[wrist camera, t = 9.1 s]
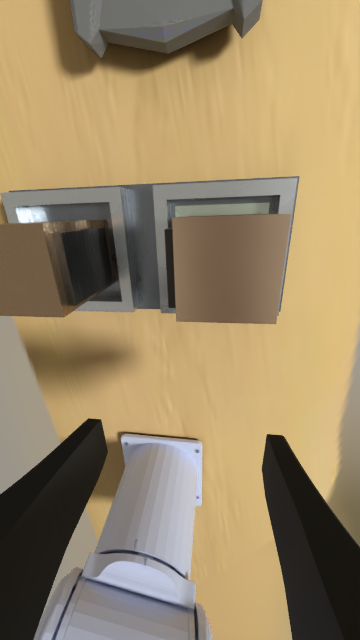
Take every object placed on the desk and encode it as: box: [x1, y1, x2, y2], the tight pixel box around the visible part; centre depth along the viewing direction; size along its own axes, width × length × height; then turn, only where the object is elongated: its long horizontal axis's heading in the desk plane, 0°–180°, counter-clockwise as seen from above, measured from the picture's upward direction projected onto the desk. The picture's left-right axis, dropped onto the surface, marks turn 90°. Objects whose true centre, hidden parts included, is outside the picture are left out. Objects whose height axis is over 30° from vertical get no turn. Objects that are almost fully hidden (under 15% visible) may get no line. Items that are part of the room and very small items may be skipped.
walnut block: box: [164, 214, 291, 324], centre depth 12 cm, size 4×4×6 cm
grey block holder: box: [0, 176, 299, 317], centre depth 13 cm, size 8×17×8 cm, turn 92°
